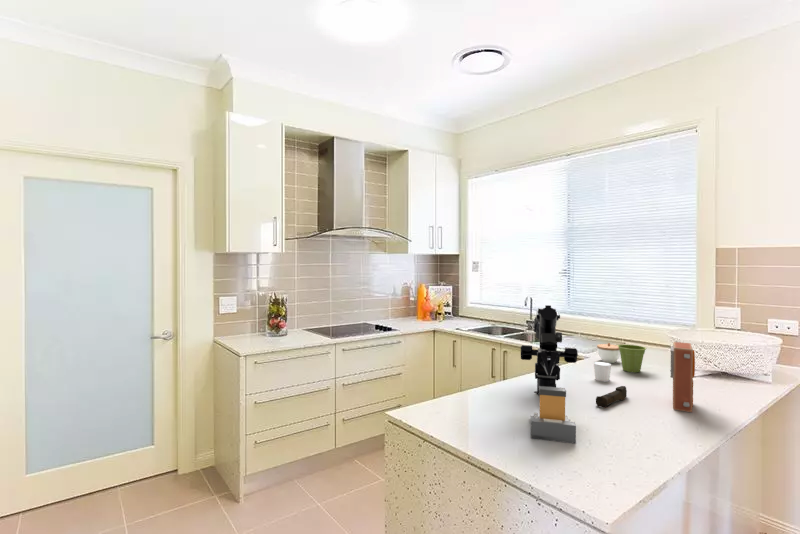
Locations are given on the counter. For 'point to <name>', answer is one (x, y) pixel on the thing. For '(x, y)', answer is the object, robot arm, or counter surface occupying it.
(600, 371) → the white cup
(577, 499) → the counter surface
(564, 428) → the base
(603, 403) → the hand tool
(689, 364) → the brown case
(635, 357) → the plant pot
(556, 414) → the handle
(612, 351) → the lidded jar
